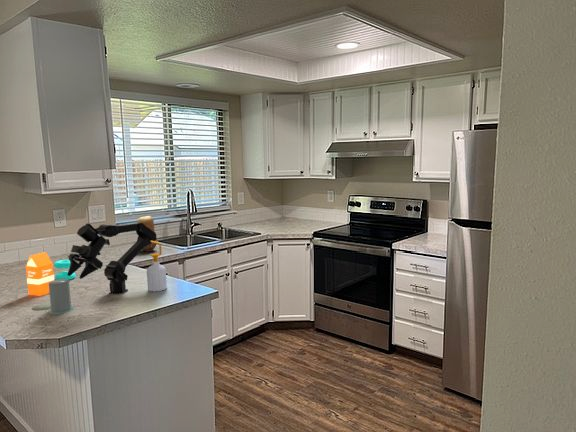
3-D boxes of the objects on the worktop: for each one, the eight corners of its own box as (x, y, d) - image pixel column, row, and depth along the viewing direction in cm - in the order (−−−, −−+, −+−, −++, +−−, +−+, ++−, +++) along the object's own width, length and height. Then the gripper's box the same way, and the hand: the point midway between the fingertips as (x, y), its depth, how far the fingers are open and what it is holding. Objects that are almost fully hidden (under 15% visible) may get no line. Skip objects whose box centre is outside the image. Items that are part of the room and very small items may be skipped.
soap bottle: (147, 288, 218) (143, 240, 214) (165, 285, 221) (162, 238, 218) (148, 292, 210) (145, 243, 206) (168, 290, 213) (165, 241, 210)
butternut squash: (133, 252, 303) (130, 216, 300) (149, 248, 314) (147, 214, 311) (146, 254, 296) (143, 218, 292) (161, 250, 306) (159, 215, 303)
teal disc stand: (79, 307, 192) (78, 299, 191) (63, 315, 182) (63, 307, 181) (59, 306, 193) (58, 298, 193) (42, 314, 184) (41, 306, 183)
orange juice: (28, 295, 211) (24, 255, 208) (44, 290, 219) (40, 251, 216) (40, 296, 208) (35, 256, 205) (55, 291, 216) (51, 252, 213)
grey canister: (73, 305, 192) (71, 278, 190) (67, 311, 184) (64, 283, 183) (55, 307, 191) (52, 279, 189) (48, 313, 183) (45, 284, 182)
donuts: (59, 264, 231) (50, 261, 236) (61, 282, 232) (51, 279, 238) (77, 260, 239) (68, 258, 244) (79, 277, 240) (69, 275, 246)
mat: (62, 303, 196) (62, 303, 196) (46, 311, 187) (46, 310, 187) (43, 303, 198) (43, 302, 198) (26, 310, 188) (26, 310, 188)
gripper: (70, 236, 199) (48, 264, 191) (94, 239, 189) (72, 270, 181) (87, 249, 206) (67, 277, 199) (111, 253, 196) (91, 283, 189)
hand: (74, 276), depth 192 cm, fingers open, 9 cm apart
